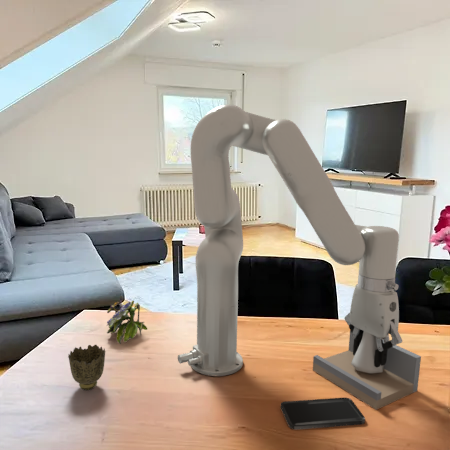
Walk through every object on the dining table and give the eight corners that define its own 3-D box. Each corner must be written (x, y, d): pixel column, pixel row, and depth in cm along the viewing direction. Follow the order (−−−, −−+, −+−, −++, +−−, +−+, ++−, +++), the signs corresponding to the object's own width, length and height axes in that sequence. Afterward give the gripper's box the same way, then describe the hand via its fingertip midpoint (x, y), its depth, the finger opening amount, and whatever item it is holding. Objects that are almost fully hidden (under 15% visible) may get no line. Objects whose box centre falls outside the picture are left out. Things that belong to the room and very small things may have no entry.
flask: (387, 375, 92) (391, 332, 90) (353, 373, 93) (355, 330, 91) (380, 359, 99) (383, 319, 97) (348, 357, 100) (351, 317, 98)
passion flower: (114, 351, 118) (112, 309, 123) (153, 344, 118) (149, 303, 123) (101, 345, 108) (99, 299, 113) (143, 337, 108) (140, 292, 113)
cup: (104, 375, 95) (103, 342, 94) (108, 392, 88) (107, 357, 87) (69, 381, 93) (67, 347, 91) (70, 399, 86) (68, 363, 84)
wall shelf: (376, 409, 85) (379, 372, 83) (312, 370, 99) (314, 338, 98) (417, 390, 92) (421, 356, 90) (352, 356, 107) (354, 326, 105)
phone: (367, 420, 80) (290, 426, 78) (366, 426, 80) (290, 431, 78) (349, 396, 88) (279, 401, 85) (349, 401, 88) (278, 406, 86)
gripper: (421, 291, 88) (412, 372, 91) (356, 270, 102) (350, 341, 105) (399, 297, 84) (390, 381, 87) (334, 275, 98) (329, 348, 101)
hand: (368, 359), depth 96 cm, fingers closed on flask, 5 cm apart
